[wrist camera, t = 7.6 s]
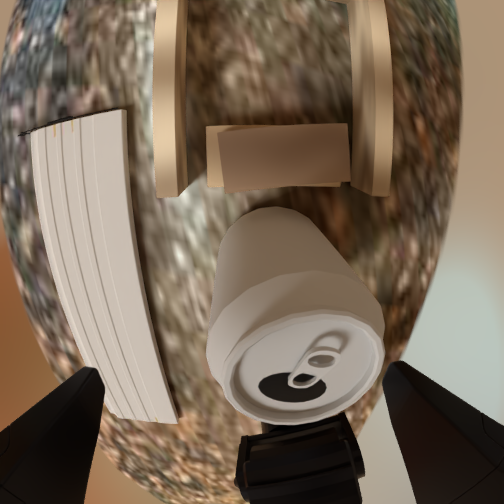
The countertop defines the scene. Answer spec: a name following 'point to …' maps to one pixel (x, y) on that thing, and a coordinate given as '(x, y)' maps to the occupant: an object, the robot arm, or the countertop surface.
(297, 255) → the can
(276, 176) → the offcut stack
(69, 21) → the countertop surface
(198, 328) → the countertop surface
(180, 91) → the rack
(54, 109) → the countertop surface
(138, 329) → the baseboard
